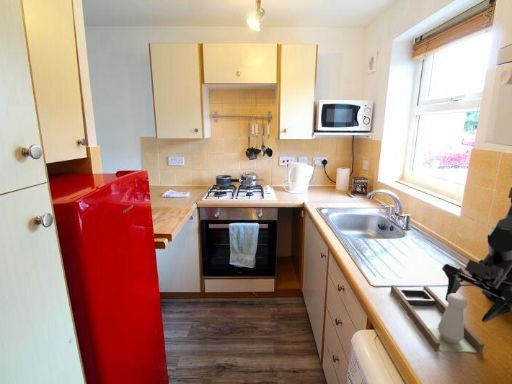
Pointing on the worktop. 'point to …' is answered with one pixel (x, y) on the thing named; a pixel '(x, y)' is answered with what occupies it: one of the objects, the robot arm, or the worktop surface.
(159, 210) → the worktop surface
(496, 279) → the robot arm
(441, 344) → the walnut channel
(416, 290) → the black tray
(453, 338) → the salt shaker
